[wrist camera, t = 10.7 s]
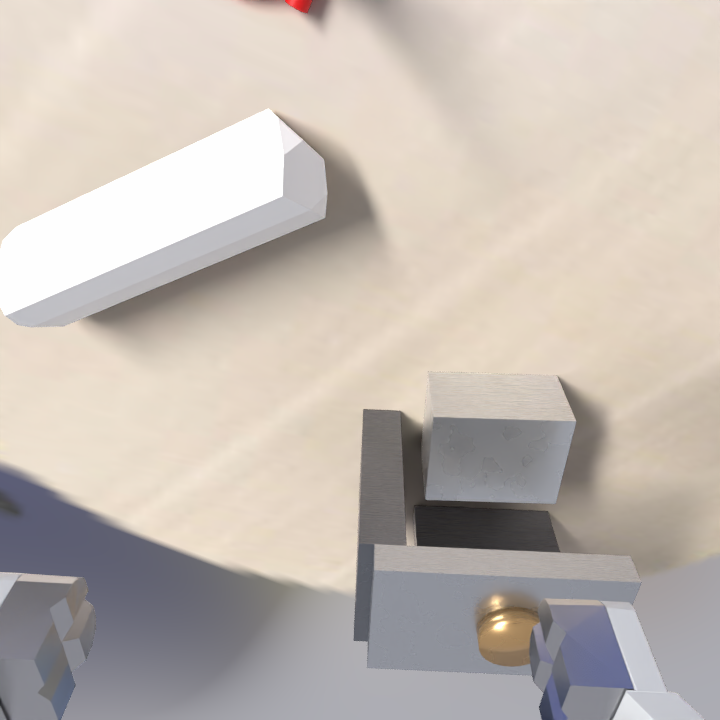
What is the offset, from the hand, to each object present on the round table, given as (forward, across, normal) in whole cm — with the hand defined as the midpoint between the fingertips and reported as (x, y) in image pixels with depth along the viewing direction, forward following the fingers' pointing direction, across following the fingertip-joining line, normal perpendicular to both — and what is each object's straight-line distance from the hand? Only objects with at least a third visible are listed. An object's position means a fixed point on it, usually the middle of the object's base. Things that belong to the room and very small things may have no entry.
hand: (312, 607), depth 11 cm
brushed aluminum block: (+34, -11, +21) cm, 42 cm away
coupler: (+34, -10, +27) cm, 45 cm away
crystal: (+35, +13, +6) cm, 37 cm away
